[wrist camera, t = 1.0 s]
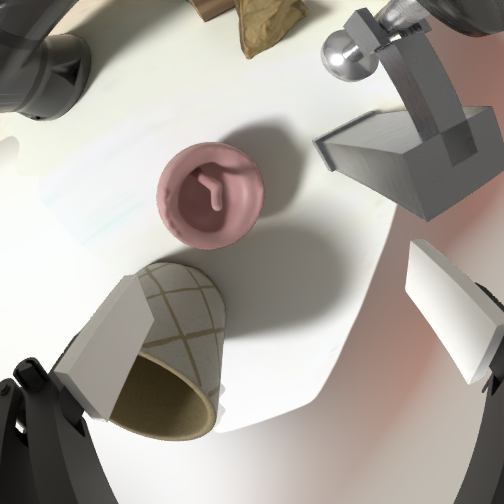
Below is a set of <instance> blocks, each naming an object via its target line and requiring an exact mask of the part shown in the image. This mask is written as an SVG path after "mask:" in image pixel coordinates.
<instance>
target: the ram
mask: <svg viewBox="0 0 504 504" xmlns="http://www.w3.org/2000/svg"><path fill="white" fill-rule="evenodd" d="M430 14H432V15H433V16H434V17H436V18H437V19H438V20H440V21H441V22H442V23H444V24H445V25H447V26H449V27H450V28H452V29H453V30H455V31H457V32H459V33H462V34H464V35H467V36H470V37H483V36H487V35H490V34H494V33H498V32H501V31H504V0H391V1H390V2H389V3H388V4H387V5H385V6H384V7H383V8H382V9H381V10H380V11H379V12H378V13H377V14H376V15H375V16H374V18H375V19H376V21H377V22H378V24H379V25H380V26H381V28H382V29H383V31H384V32H385V33H386V35H387V36H388V38H389V39H392V38H393V37H395V36H396V35H398V34H399V33H401V32H402V31H404V30H405V29H407V28H409V27H410V26H412V25H413V24H415V23H417V22H418V21H420V20H421V19H423V18H425V17H426V16H428V15H430ZM376 52H377V51H376ZM321 59H322V62H323V65H324V66H325V68H326V69H327V70H328V71H329V72H330V73H331V74H332V75H333V76H335V77H336V78H338V79H340V80H343V81H347V82H357V81H360V80H363V79H365V78H366V77H368V76H370V75H372V74H373V73H374V72H375V70H376V69H377V67H378V62H379V58H378V57H377V55H376V54H375V53H373V54H370V55H368V56H365V57H364V55H363V54H362V52H361V51H360V49H359V48H358V46H357V45H356V44H355V42H354V41H353V39H352V38H351V37H350V35H349V34H348V32H347V31H346V30H339V31H336V32H334V33H332V34H331V35H330V36H329V37H328V38H327V39H326V41H325V42H324V44H323V46H322V48H321Z"/></svg>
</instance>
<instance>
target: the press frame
mask: <svg viewBox="0 0 504 504" xmlns="http://www.w3.org/2000/svg"><path fill="white" fill-rule="evenodd" d="M343 27H344V28H345V30H346V31H347V32H348V34H349V35H350V37H351V38H352V39H353V41H354V42H355V44H356V45H357V46H358V48H359V49H360V51H361V52H362V54H363V55H364V57H365V56H368V55H370V54H373V53H375V54H376V55H377V57H378V58H379V60H380V62H381V63H382V65H383V66H384V68H385V70H386V71H387V73H388V75H389V77H390V78H391V80H392V82H393V84H394V85H395V87H396V89H397V91H398V93H399V95H400V97H401V98H402V100H403V102H404V104H405V106H406V108H407V110H408V111H399V112H391V113H384V114H377V115H375V113H374V111H371V112H367V113H365V114H363V115H361V116H359V117H357V118H355V119H353V120H351V121H349V122H347V123H345V124H343V125H341V126H339V127H337V128H335V129H333V130H331V131H330V132H328V133H326V134H324V135H322V136H320V137H318V138H316V139H315V140H313V141H312V142H313V144H314V145H315V147H316V149H317V151H318V152H319V154H320V156H321V158H322V159H323V161H324V163H325V165H326V167H327V168H328V170H329V171H331V172H333V171H334V170H336V171H338V172H340V173H342V174H344V175H346V176H348V177H350V178H352V179H354V180H356V181H358V182H359V183H361V184H363V185H365V186H367V187H369V188H371V189H372V190H374V191H376V192H378V193H380V194H381V195H383V196H385V197H387V198H388V199H390V200H392V201H393V202H395V203H397V204H399V205H400V206H402V207H404V208H405V209H407V210H408V211H410V212H412V213H413V214H415V215H417V216H418V217H420V218H421V219H423V220H425V221H426V222H428V221H430V220H431V219H433V218H435V217H436V216H438V215H439V214H441V213H442V212H444V211H445V210H447V209H449V208H450V207H452V206H453V205H455V204H456V203H458V202H459V201H461V200H462V199H464V198H465V197H467V196H468V195H470V194H471V193H473V192H474V191H476V190H477V189H478V188H480V187H481V186H483V185H484V184H485V183H487V182H488V181H490V180H491V179H493V178H494V177H495V176H497V175H498V174H500V173H501V172H502V171H504V143H503V139H502V136H501V132H500V129H499V126H498V123H497V120H496V117H495V114H494V111H493V108H492V107H491V106H468V107H462V106H461V104H460V101H459V99H458V96H457V94H456V92H455V90H454V87H453V85H452V83H451V81H450V79H449V77H448V75H447V73H446V71H445V69H444V67H443V65H442V63H441V61H440V60H439V58H438V56H437V54H436V53H435V51H434V49H433V47H432V46H431V44H430V42H429V41H428V39H427V37H426V36H425V33H427V32H429V31H431V30H432V29H431V27H430V26H429V24H428V22H427V21H426V19H425V18H423V19H421V20H420V21H418V22H417V23H415V24H413V25H412V26H410V27H409V28H407V29H405V30H404V31H402V32H401V33H399V35H400V36H401V39H398V40H395V41H392V42H391V41H390V39H389V38H388V36H387V35H386V33H385V32H384V31H383V29H382V28H381V26H380V25H379V24H378V22H377V21H376V19H375V18H374V17H373V16H372V14H371V13H370V12H369V10H368V9H367V8H362V9H359V10H356V11H355V12H354V13H353V14H352V16H351V17H350V18H349V19H348V21H347V22H346V23H345V25H344V26H343ZM388 43H389V44H388ZM385 45H386V46H385ZM382 47H383V48H382ZM379 49H380V50H379ZM376 51H377V52H376Z"/></svg>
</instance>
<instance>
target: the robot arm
mask: <svg viewBox="0 0 504 504" xmlns="http://www.w3.org/2000/svg"><path fill="white" fill-rule="evenodd" d="M78 1H79V0H0V113H5V112H17V113H19V114H22V115H24V116H26V117H28V118H31V119H33V120H36V121H50V120H54V119H57V118H59V117H61V116H62V115H64V114H65V113H66V112H67V111H68V110H69V109H70V108H71V107H72V106H73V105H74V104H75V102H76V101H77V100H78V98H79V96H80V95H81V93H82V91H83V89H84V87H85V85H86V82H87V79H88V76H89V72H90V66H91V55H90V50H89V47H88V45H87V43H86V42H85V41H84V40H83V39H81V38H79V37H77V36H74V35H71V34H60V35H51V36H48V34H49V33H50V32H51V31H52V29H53V28H54V27H55V26H56V25H57V24H58V22H59V21H60V20H61V19H62V18H63V17H64V16H65V14H66V13H67V12H68V11H69V10H70V9H71V8H72V7H73V6H74V5H75V4H76V3H77V2H78ZM410 242H411V243H410V253H409V263H408V271H407V279H406V287H405V291H406V292H407V293H408V295H409V296H410V297H411V299H412V300H413V301H414V303H415V304H416V305H417V307H418V308H419V310H420V311H421V312H422V314H423V315H424V316H425V318H426V319H427V321H428V322H429V323H430V325H431V326H432V328H433V329H434V331H435V332H436V334H437V335H438V337H439V338H440V340H441V341H442V343H443V344H444V346H445V347H446V349H447V351H448V352H449V354H450V355H451V357H452V358H453V359H454V362H455V363H456V365H457V366H458V368H459V370H460V371H461V373H462V375H463V376H464V378H465V380H466V381H467V383H468V385H469V384H471V383H473V382H476V381H478V380H480V379H482V378H483V376H484V375H485V373H486V371H487V369H488V367H490V369H491V370H492V374H491V376H490V378H489V380H488V381H487V383H486V384H485V386H484V388H483V390H482V393H484V391H485V390H486V388H487V387H488V392H487V397H486V403H485V408H484V413H483V418H482V423H481V426H480V430H479V434H478V438H477V442H476V445H475V448H474V452H473V455H472V458H471V461H470V464H469V467H468V470H467V472H466V475H465V478H464V480H463V483H462V485H461V488H460V490H459V492H458V495H457V497H456V499H455V501H454V504H504V306H503V304H501V302H498V299H497V298H495V296H493V295H492V294H491V293H490V292H489V291H488V290H487V289H486V288H485V287H483V286H481V285H480V284H478V283H474V282H473V281H472V280H471V279H469V277H468V276H466V275H465V274H464V273H463V272H462V271H461V270H460V269H459V268H458V267H456V266H455V265H454V264H453V263H452V262H451V261H450V260H448V259H447V258H446V257H445V256H444V255H443V254H441V253H440V252H439V251H438V250H437V249H435V248H434V247H433V246H432V245H431V244H429V243H428V242H427V241H426V240H424V239H417V240H411V241H410ZM153 322H154V318H153V315H152V313H151V310H150V308H149V305H148V303H147V300H146V297H145V295H144V292H143V290H142V287H141V284H140V281H139V279H138V276H137V274H136V275H128V276H124V277H123V278H122V279H121V280H120V282H119V283H118V284H117V285H116V287H115V288H114V289H113V290H112V292H111V293H110V294H109V295H108V297H107V298H106V299H105V300H104V302H103V303H102V304H101V306H100V307H99V308H98V309H97V311H96V312H95V313H94V315H93V316H92V317H91V319H90V320H89V322H88V323H87V324H86V325H85V327H84V328H83V329H82V330H81V331H80V332H79V333H78V334H77V335H75V336H74V338H73V339H72V340H71V342H70V343H69V344H68V346H67V347H66V349H65V350H64V353H62V354H61V356H60V357H59V359H58V360H57V361H56V363H55V364H54V366H53V367H52V369H51V370H50V372H49V373H48V374H47V373H46V371H45V370H44V369H43V367H42V366H41V364H40V363H39V361H38V360H37V359H36V358H32V357H30V358H27V359H25V360H23V361H21V362H20V363H19V364H18V365H17V366H16V368H15V369H14V372H13V376H14V377H15V379H16V380H17V381H18V382H19V384H20V385H21V386H22V387H19V386H18V385H17V384H16V382H15V381H14V380H13V379H11V378H7V379H5V380H2V382H0V504H118V502H117V500H116V498H115V496H114V494H113V492H112V489H111V487H110V485H109V483H108V481H107V478H106V476H105V474H104V472H103V469H102V466H101V464H100V461H99V459H98V456H97V453H96V451H95V448H94V445H93V442H92V439H91V436H90V433H89V430H88V427H87V423H86V421H85V419H84V418H83V417H82V414H83V412H84V410H85V411H86V413H88V415H89V416H90V417H91V418H92V419H94V420H98V421H103V422H108V420H109V417H110V415H111V413H112V410H113V408H114V405H115V403H116V401H117V399H118V396H119V394H120V392H121V389H122V387H123V385H124V383H125V380H126V378H127V376H128V374H129V372H130V370H131V367H132V365H133V363H134V361H135V359H136V357H137V355H138V352H139V350H140V348H141V346H142V344H143V342H144V340H145V338H146V336H147V334H148V332H149V330H150V328H151V326H152V324H153ZM16 421H17V422H18V423H19V425H21V427H23V428H24V430H23V433H21V432H20V431H19V430H18V429H17V428H16V427H15V425H16Z"/></svg>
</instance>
